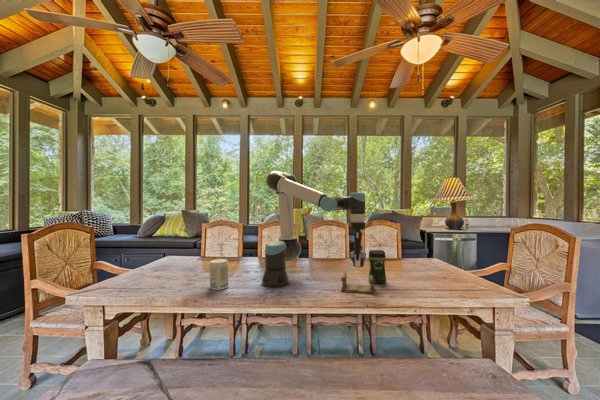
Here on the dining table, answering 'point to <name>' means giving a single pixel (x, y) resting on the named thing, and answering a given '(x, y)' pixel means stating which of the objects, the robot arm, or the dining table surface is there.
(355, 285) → the holder
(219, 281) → the supplement tub
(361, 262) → the potion bottle
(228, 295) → the dining table surface
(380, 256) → the coffee jar
